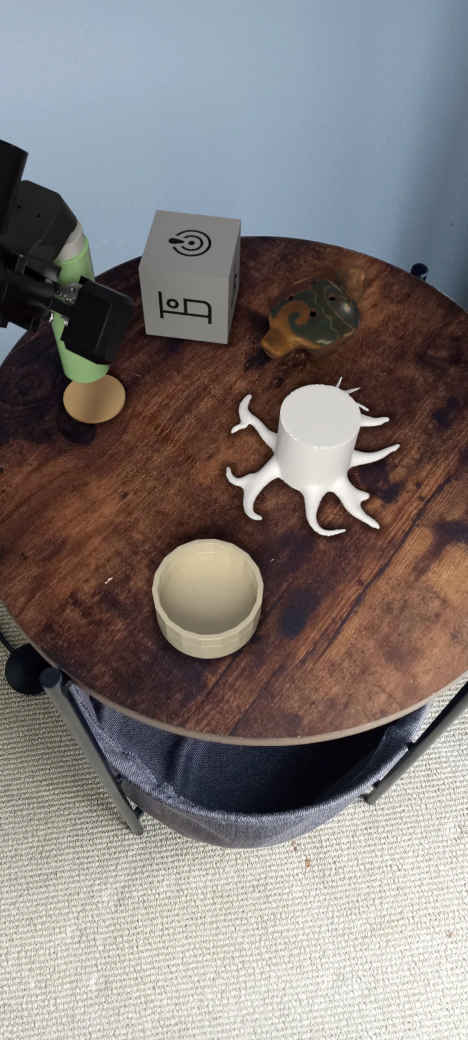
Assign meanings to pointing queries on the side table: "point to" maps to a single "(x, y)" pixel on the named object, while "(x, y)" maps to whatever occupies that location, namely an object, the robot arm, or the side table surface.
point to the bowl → (208, 598)
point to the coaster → (94, 399)
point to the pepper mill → (73, 266)
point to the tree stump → (312, 450)
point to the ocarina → (315, 314)
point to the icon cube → (190, 276)
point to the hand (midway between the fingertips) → (83, 304)
